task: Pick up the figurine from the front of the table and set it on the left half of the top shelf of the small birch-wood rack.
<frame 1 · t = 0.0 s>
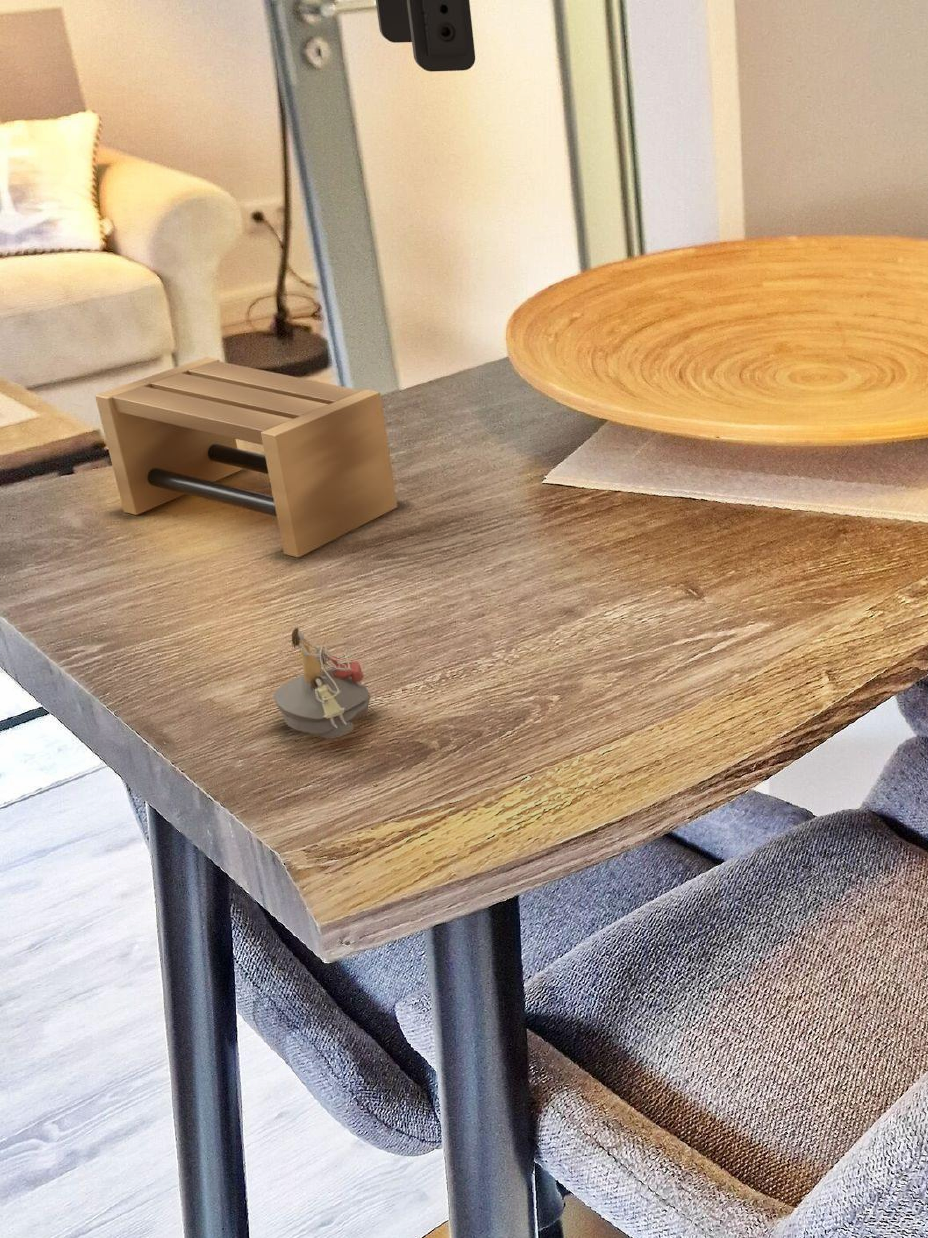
hand: (426, 55, 61), 32 cm above the table, tool pointing down, fingers open, 8 cm apart
figurine: (330, 732, 75), on the table
rack: (261, 509, 99), on the table
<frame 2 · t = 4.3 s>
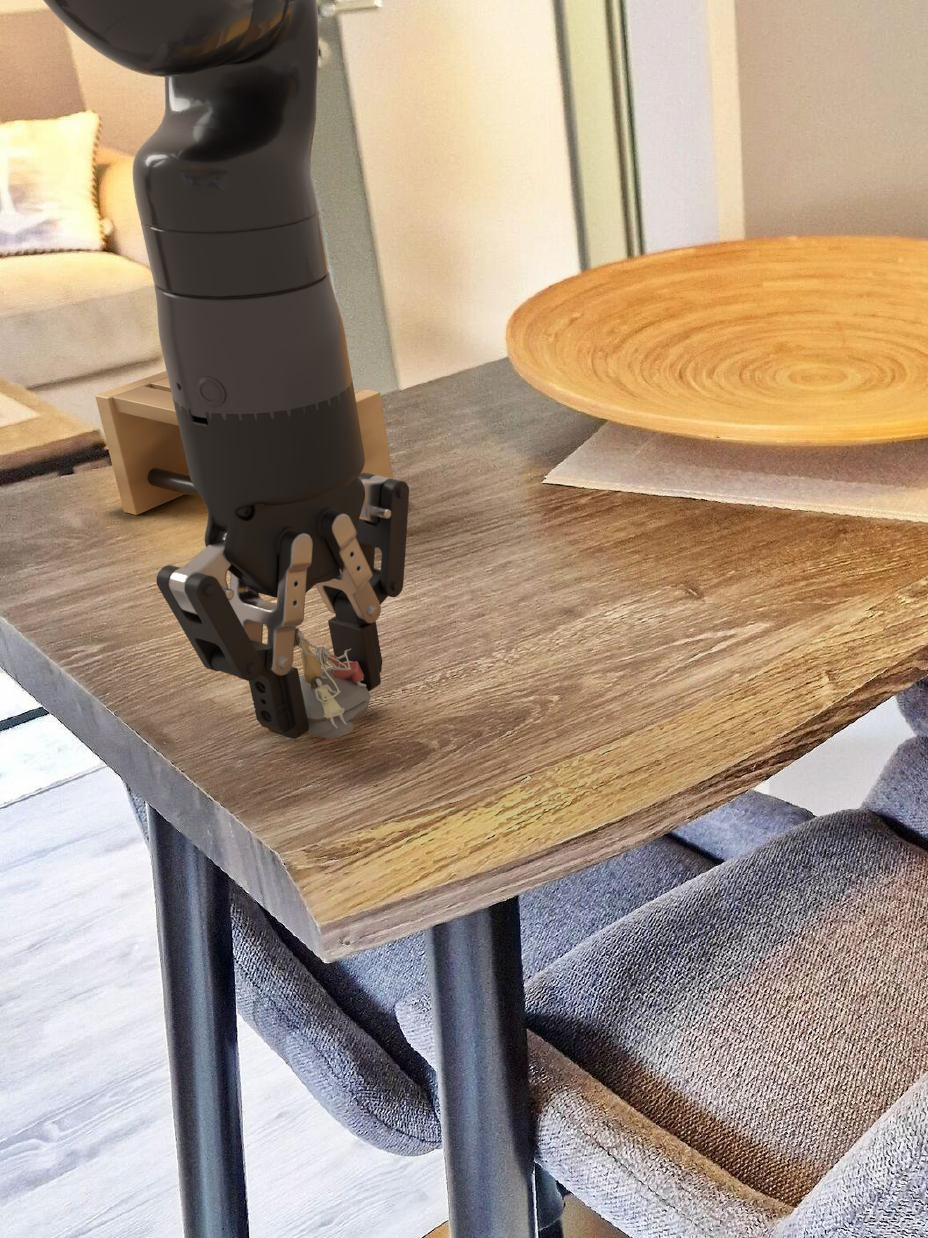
hand: (324, 707, 75), 1 cm above the table, tool pointing down, fingers closed on figurine, 4 cm apart
figurine: (330, 732, 75), on the table, touching gripper
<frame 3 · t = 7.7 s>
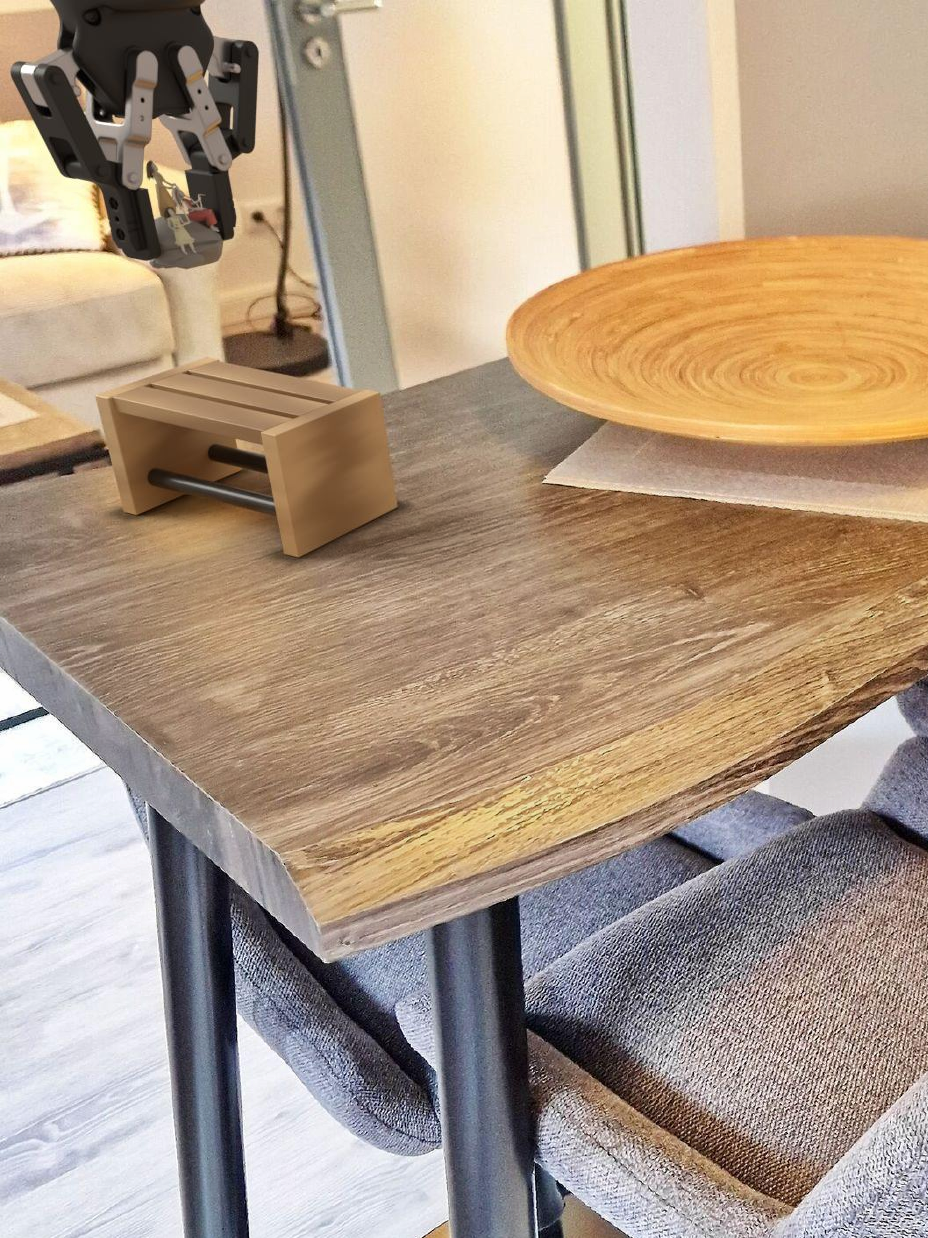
hand: (179, 246, 83), 19 cm above the table, tool pointing down, fingers closed on figurine, 4 cm apart
figurine: (186, 274, 83), point 18 cm above the table, touching gripper
when the fingers open (9 cm above the table, at t = 11.2 s): figurine stays where it is, resting on rack.
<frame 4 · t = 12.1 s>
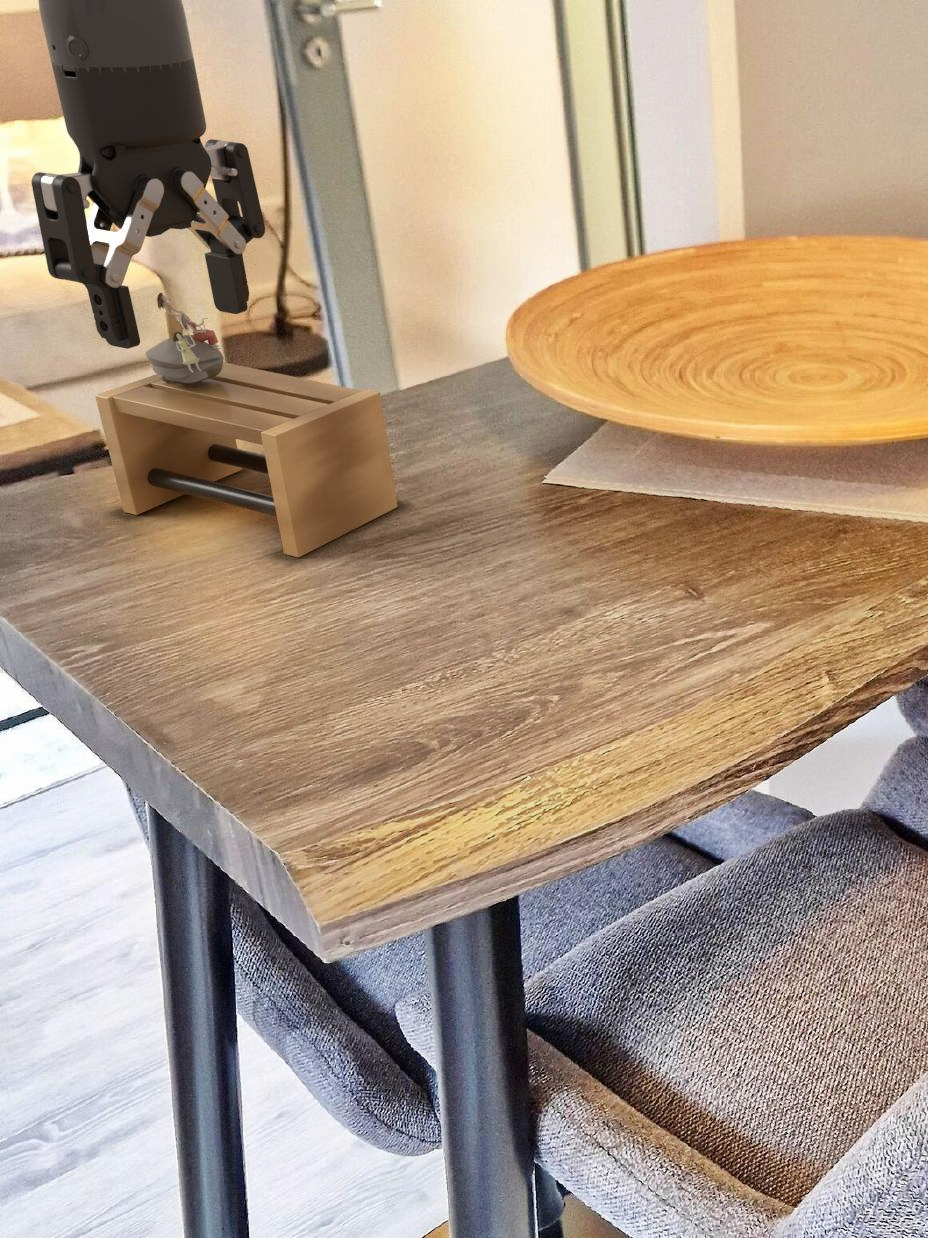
hand: (179, 328, 94), 12 cm above the table, tool pointing down, fingers open, 8 cm apart
figurine: (192, 386, 96), point 8 cm above the table, touching rack
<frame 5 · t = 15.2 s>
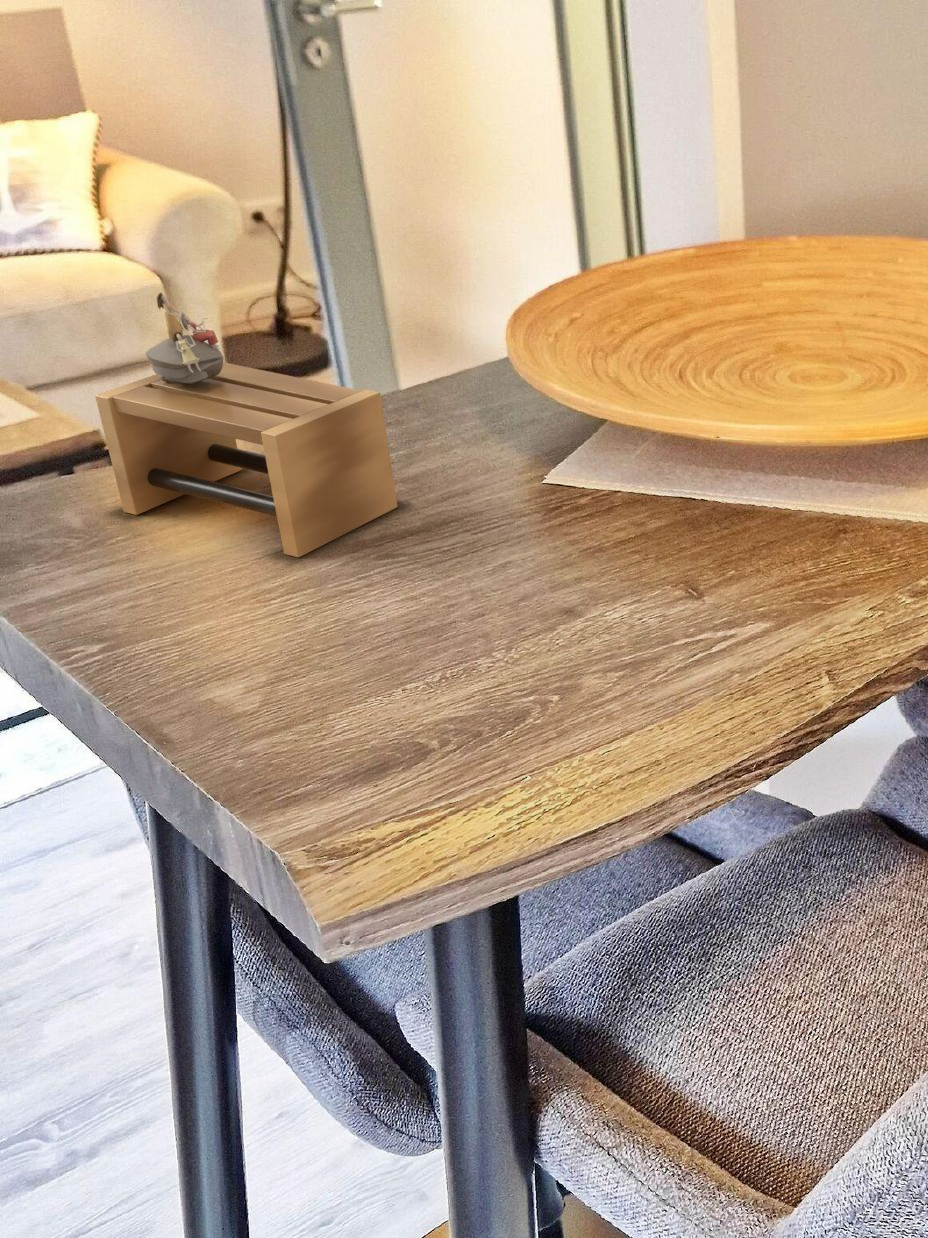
nothing on the table moved.
at the end: figurine inside the target area on the rack (0.1 cm from its centre), point 7.8 cm above the rack's base; the gripper is holding nothing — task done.
